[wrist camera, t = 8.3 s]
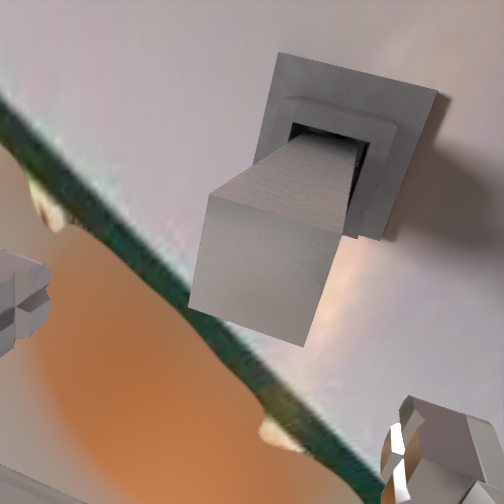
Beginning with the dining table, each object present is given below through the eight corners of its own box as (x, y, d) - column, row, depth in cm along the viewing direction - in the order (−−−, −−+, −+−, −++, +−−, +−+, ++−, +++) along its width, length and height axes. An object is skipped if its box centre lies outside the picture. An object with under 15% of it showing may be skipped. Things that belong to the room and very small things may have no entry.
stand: (435, 90, 36) (471, 90, 23) (379, 236, 41) (384, 298, 29) (281, 53, 38) (239, 34, 25) (248, 196, 43) (200, 239, 31)
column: (358, 143, 31) (342, 234, 11) (340, 195, 33) (301, 353, 13) (307, 129, 32) (209, 194, 12) (293, 182, 34) (187, 313, 14)
